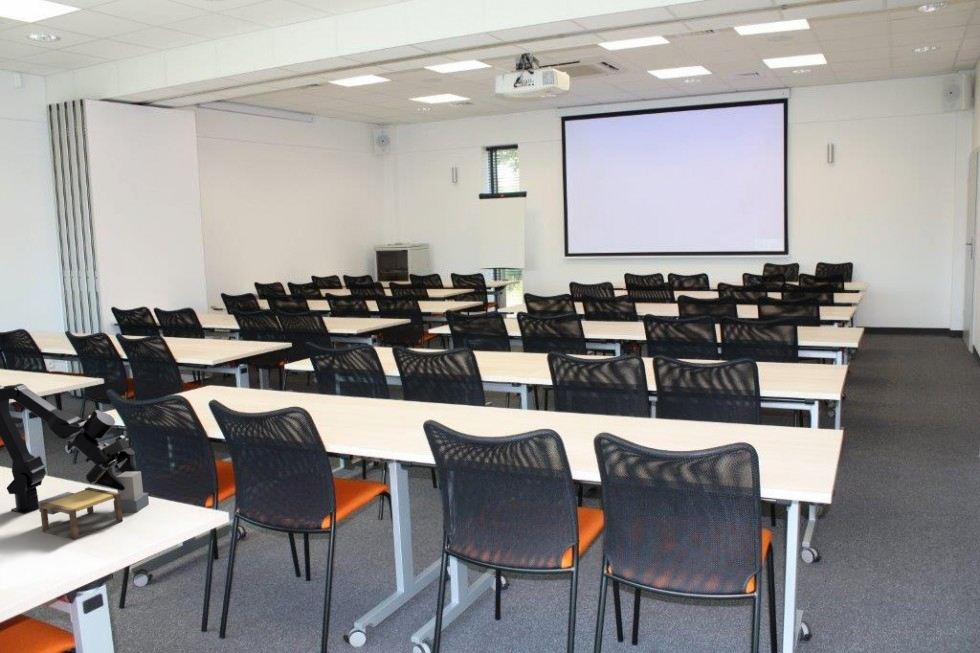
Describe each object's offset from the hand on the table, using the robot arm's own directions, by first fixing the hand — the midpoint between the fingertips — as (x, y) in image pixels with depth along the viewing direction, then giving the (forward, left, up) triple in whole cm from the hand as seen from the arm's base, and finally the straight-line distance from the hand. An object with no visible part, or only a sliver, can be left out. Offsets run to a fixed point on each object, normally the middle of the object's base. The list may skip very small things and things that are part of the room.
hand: (132, 484), depth 245 cm
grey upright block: (-1, 0, -4) cm, 4 cm away
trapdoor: (-4, -16, -3) cm, 17 cm away
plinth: (-1, 0, -7) cm, 7 cm away
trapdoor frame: (-1, -16, -7) cm, 18 cm away
